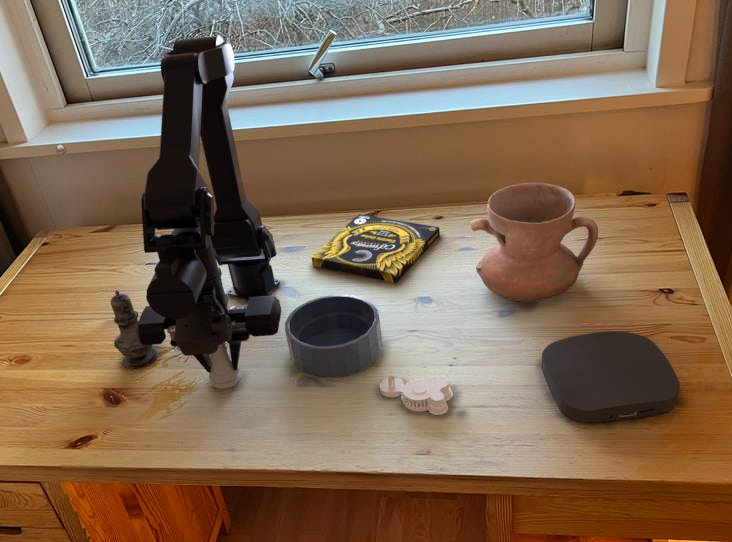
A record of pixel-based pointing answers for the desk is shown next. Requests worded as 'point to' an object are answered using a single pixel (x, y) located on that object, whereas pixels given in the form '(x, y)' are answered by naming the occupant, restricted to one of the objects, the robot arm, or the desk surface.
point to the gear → (419, 393)
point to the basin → (334, 336)
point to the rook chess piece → (223, 369)
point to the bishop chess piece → (130, 334)
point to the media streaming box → (609, 376)
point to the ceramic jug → (532, 242)
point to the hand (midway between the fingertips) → (223, 369)
